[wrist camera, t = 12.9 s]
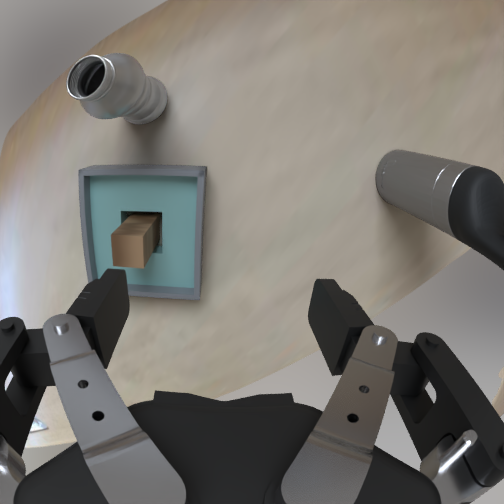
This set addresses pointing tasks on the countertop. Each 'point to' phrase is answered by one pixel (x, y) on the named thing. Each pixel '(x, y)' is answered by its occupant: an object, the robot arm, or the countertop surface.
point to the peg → (135, 240)
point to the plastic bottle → (116, 88)
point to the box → (150, 200)
